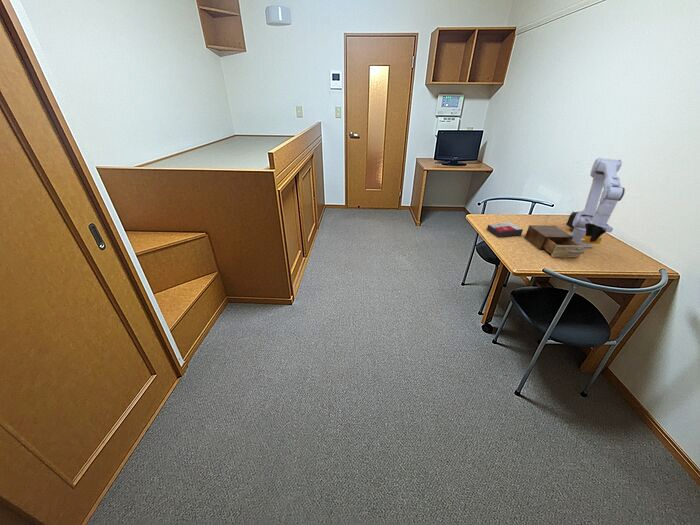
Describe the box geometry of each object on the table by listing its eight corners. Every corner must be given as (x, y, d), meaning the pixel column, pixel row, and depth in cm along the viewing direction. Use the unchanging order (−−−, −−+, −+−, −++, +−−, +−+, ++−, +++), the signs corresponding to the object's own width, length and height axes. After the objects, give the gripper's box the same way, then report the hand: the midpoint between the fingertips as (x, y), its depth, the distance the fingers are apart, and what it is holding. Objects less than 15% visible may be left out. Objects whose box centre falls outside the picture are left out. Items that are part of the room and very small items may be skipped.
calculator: (487, 223, 169) (510, 220, 172) (486, 230, 172) (508, 227, 174) (500, 231, 160) (523, 228, 163) (498, 238, 162) (521, 235, 165)
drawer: (586, 262, 139) (591, 251, 136) (559, 261, 138) (564, 251, 135) (561, 244, 155) (565, 234, 152) (536, 244, 154) (540, 234, 151)
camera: (575, 227, 182) (560, 227, 176) (584, 209, 177) (569, 209, 171) (593, 233, 173) (578, 234, 167) (603, 215, 168) (587, 215, 162)
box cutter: (595, 241, 142) (598, 235, 141) (599, 243, 140) (602, 237, 138) (577, 241, 142) (580, 235, 140) (581, 243, 140) (584, 237, 138)
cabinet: (567, 250, 151) (573, 237, 147) (540, 250, 150) (545, 236, 147) (549, 238, 164) (555, 225, 160) (524, 237, 163) (529, 225, 159)
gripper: (583, 207, 140) (571, 233, 146) (607, 219, 127) (593, 246, 134) (597, 207, 140) (584, 233, 147) (622, 219, 127) (608, 246, 134)
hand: (589, 239), depth 140 cm, fingers closed on box cutter, 2 cm apart
